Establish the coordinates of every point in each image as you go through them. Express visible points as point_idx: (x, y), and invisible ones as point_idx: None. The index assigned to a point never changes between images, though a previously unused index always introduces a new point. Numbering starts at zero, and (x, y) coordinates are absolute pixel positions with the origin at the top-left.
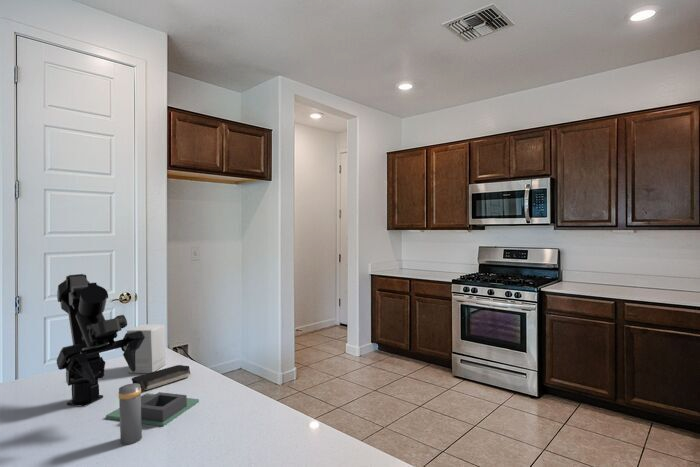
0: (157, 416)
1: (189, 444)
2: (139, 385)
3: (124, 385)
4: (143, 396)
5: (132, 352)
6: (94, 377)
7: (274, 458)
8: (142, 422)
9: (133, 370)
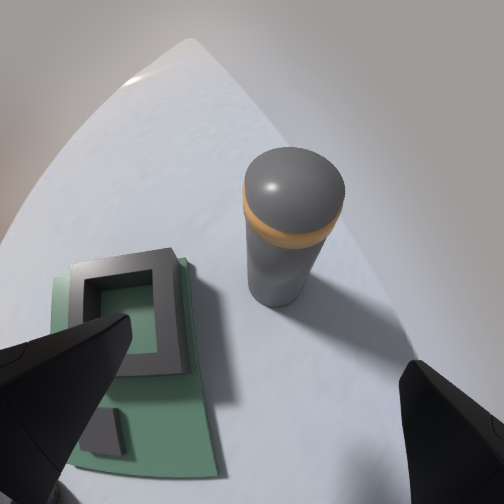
0: (178, 276)
1: (232, 155)
2: (260, 158)
3: (296, 222)
4: (88, 444)
5: (1, 366)
6: (425, 373)
7: (219, 71)
8: (194, 334)
9: (130, 324)
